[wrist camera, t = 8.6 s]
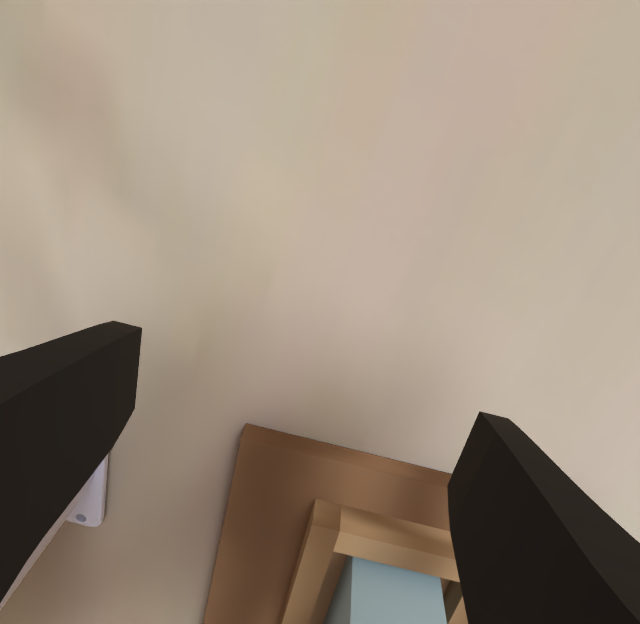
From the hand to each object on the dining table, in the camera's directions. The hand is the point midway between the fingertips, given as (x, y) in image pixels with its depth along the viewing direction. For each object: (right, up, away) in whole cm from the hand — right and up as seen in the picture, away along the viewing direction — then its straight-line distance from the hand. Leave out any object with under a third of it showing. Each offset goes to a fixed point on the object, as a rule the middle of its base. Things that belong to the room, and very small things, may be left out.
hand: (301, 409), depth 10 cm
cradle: (+3, -13, +16) cm, 20 cm away
